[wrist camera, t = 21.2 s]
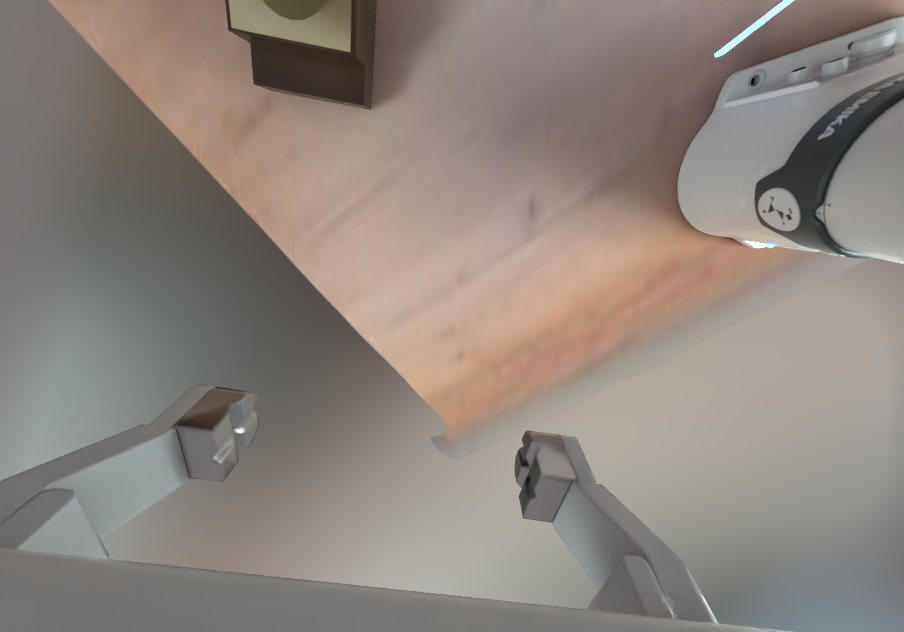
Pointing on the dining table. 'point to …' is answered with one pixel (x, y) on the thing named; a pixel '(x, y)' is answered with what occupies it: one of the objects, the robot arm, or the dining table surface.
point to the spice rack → (311, 49)
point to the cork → (294, 8)
